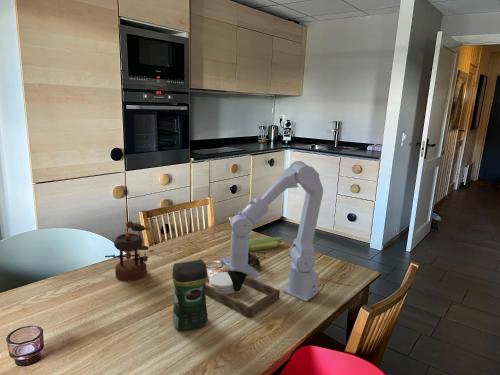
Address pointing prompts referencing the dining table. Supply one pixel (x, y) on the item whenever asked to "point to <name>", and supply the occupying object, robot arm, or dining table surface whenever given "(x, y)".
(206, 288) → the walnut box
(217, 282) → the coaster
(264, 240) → the edible corn
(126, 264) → the music box
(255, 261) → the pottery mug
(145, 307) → the dining table surface
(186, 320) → the coffee jar
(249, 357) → the dining table surface
